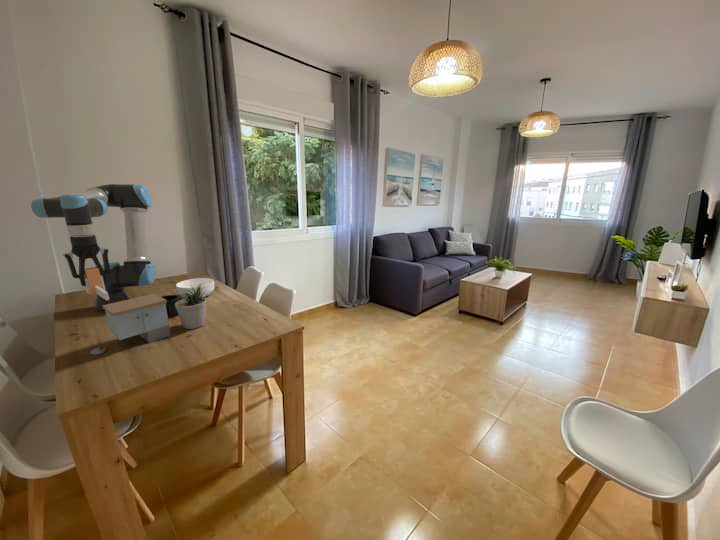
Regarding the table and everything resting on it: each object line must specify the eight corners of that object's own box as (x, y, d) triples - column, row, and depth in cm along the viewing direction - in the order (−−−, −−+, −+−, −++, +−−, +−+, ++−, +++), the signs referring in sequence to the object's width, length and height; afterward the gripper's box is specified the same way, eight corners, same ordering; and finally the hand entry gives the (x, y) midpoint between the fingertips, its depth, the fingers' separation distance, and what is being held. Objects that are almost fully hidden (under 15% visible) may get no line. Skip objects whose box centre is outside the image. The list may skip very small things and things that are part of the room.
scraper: (88, 292, 122) (82, 269, 119) (101, 289, 125) (95, 267, 122) (101, 301, 113) (95, 276, 110) (114, 298, 116) (108, 274, 113)
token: (102, 354, 112) (102, 352, 111) (88, 356, 110) (87, 353, 110) (108, 349, 116) (107, 346, 116) (94, 350, 115) (93, 348, 114)
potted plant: (189, 334, 128) (182, 290, 123) (172, 327, 135) (166, 285, 130) (216, 324, 138) (211, 283, 133) (199, 317, 145) (194, 278, 140)
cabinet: (110, 342, 120) (102, 305, 116) (160, 327, 134) (154, 293, 130) (121, 353, 112) (113, 313, 108) (173, 335, 127) (167, 300, 122)
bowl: (222, 294, 178) (220, 281, 176) (189, 304, 162) (187, 290, 160) (203, 289, 188) (202, 276, 186) (171, 297, 172) (169, 283, 170)
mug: (160, 322, 140) (157, 304, 137) (158, 314, 149) (155, 297, 146) (183, 317, 145) (180, 300, 143) (179, 310, 154) (177, 293, 152)
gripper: (54, 239, 107) (70, 299, 113) (112, 233, 120) (124, 287, 127) (49, 237, 111) (65, 295, 117) (106, 231, 124) (118, 284, 131)
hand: (96, 291), depth 122 cm, fingers closed on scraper, 4 cm apart
